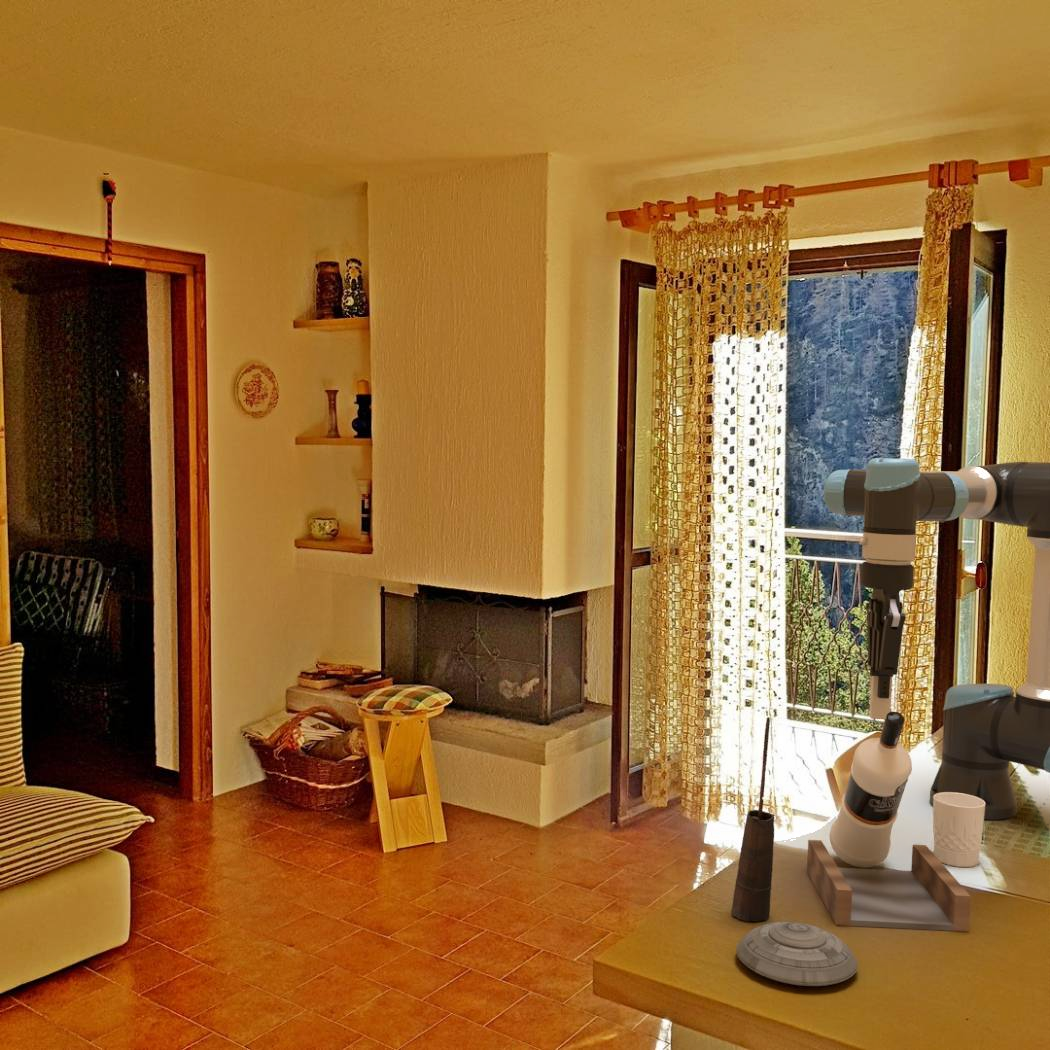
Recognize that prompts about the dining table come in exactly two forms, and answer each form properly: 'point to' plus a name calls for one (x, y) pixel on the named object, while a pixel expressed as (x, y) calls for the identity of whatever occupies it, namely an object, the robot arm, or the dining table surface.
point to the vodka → (872, 797)
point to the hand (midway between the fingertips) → (879, 717)
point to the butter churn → (756, 859)
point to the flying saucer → (797, 954)
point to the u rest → (890, 893)
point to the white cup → (957, 828)
